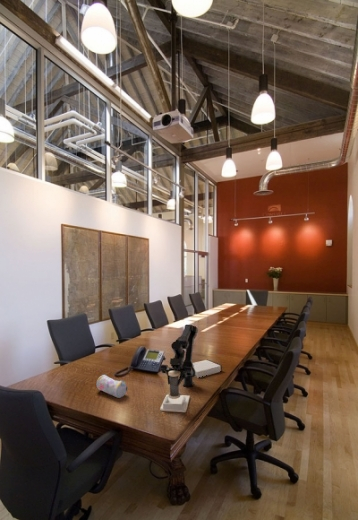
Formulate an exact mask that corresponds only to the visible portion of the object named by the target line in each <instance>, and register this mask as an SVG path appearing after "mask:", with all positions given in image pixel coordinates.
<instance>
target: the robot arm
mask: <svg viewBox="0 0 358 520" xmlns="http://www.w3.org/2000/svg"><path fill="white" fill-rule="evenodd" d="M198 331H199V329H198V327H197V326H195V325H192V324H185V325H184V329H183V331H182V333H181V335H180V336H179V337H177V338H176V339H175V341H173V342H172V343H171V349H172V352H173V353H174V356H173V357H172V358H170V359H169V365H170V366H171V367H170V366H169V365H168V364H160V366H159V370H160V372H161V373H162V374H166V376H167V384H168V386H170V376H169V375H168V372H169V371H173V370H176V371H179V372H180V375H179V376H178V377H179V381H178V386H179V387H180V385H181V383H182V382H183V383H182V387H194V384H195V383H194V380H193V379H194V377H195V376H196V375H195V369H194V365H193V363H194V362H193V354H194V352H193V351H194V343H195V342H194V341H195V338H196V337H197V335H198Z"/></svg>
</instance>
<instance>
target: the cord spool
mask: <svg viewBox="0 0 358 520" xmlns="http://www.w3.org/2000/svg"><path fill="white" fill-rule="evenodd" d="M168 375H169V376H170V384H169V393H168V395H169V398H171V399H177V398H179V397H180V395H181V393H180V389H179V388H180V385H179V386H178V381H179V377H180V372H179V371H176V370H173V371H169V372H168Z"/></svg>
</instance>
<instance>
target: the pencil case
mask: <svg viewBox="0 0 358 520" xmlns="http://www.w3.org/2000/svg"><path fill="white" fill-rule="evenodd" d="M95 385H96V388H97V390H98V391H99V390H100V391H102V392H104V393H106V394H108V395H110V396H113V397H115V398H118V399H120V398H123V397H124V396H125V395H126V393H127V391H128V386H127V384H126V381H124V380H122V379H121V380H116V379H113V378H111V377H110V376H108V375H106V374H103V375H100V376H99V377H98V378H97V379H96V384H95Z"/></svg>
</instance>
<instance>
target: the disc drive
mask: <svg viewBox="0 0 358 520" xmlns="http://www.w3.org/2000/svg"><path fill="white" fill-rule="evenodd" d="M192 363H193V365H194V369H195V375H196V376H194V377H195V378H196V377H197V378H196V379H199V377H200V378H203V377H206V375H207V376H210V375H213V374H217V373H220V371H222V370H223V367H222V364H219V363H217V362H214V361H213V360H210V359H208V358H207V359H204V360H201V361H200V360H199V361H195V362H192ZM222 372H223V371H222ZM202 376H203V377H202Z"/></svg>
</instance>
